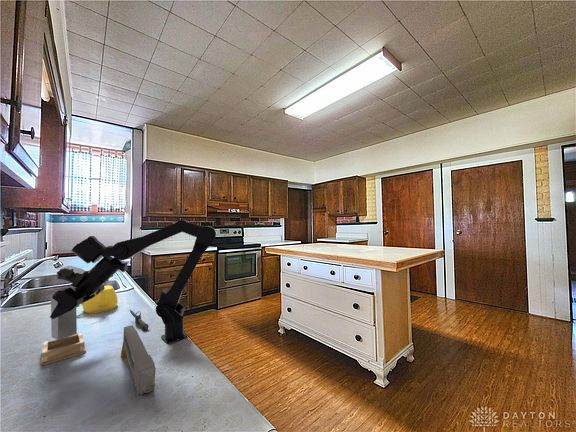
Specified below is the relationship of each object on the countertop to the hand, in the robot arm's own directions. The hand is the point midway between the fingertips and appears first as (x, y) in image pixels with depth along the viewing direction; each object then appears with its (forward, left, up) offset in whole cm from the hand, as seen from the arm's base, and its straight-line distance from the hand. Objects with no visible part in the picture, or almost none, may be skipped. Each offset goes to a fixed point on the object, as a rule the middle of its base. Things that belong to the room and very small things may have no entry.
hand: (58, 313), depth 75 cm
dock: (-1, -1, -12) cm, 12 cm away
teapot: (+40, -13, -12) cm, 44 cm away
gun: (-28, -14, -12) cm, 33 cm away
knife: (+7, -22, -12) cm, 26 cm away
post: (-1, -1, -7) cm, 7 cm away
